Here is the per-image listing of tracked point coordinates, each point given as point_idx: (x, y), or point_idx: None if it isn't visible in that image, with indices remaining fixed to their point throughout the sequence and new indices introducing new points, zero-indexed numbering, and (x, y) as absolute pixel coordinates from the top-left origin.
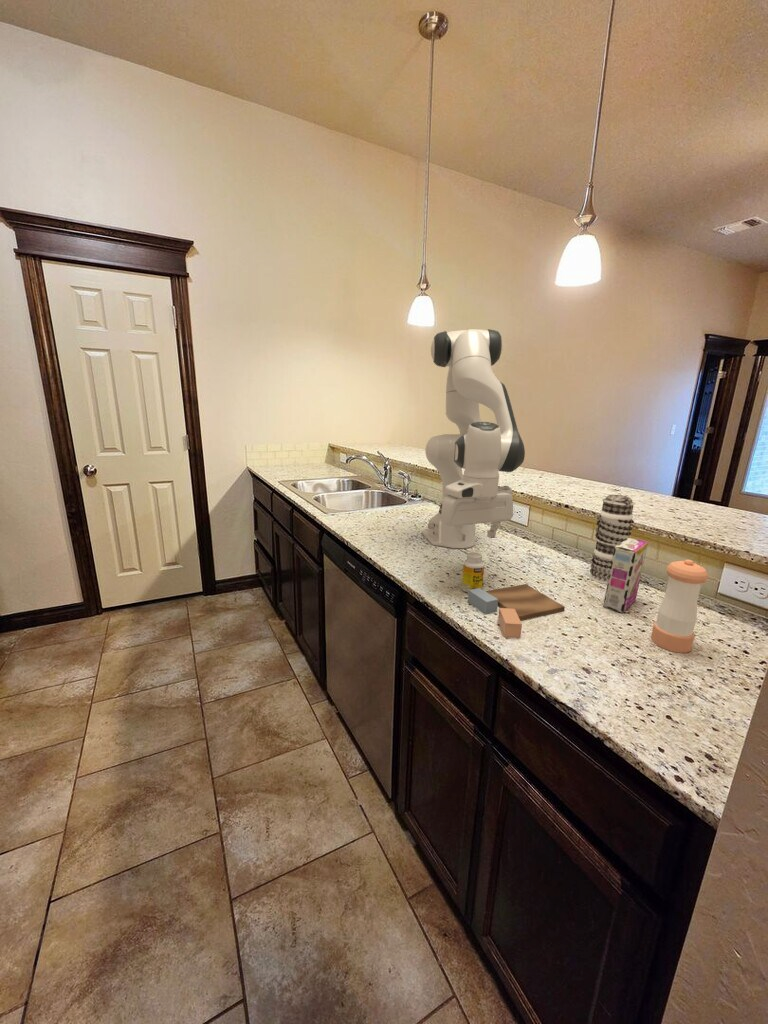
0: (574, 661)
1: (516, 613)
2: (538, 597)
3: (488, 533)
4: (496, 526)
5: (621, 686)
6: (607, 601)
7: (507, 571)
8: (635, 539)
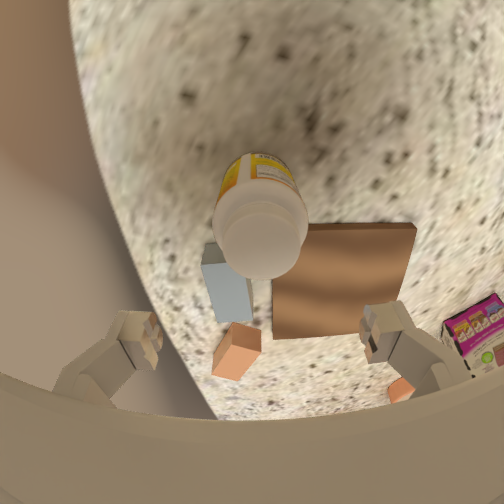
0: (271, 395)
1: (252, 362)
2: (378, 293)
3: (372, 327)
4: (415, 384)
5: (282, 414)
6: (447, 333)
7: (450, 114)
8: None
